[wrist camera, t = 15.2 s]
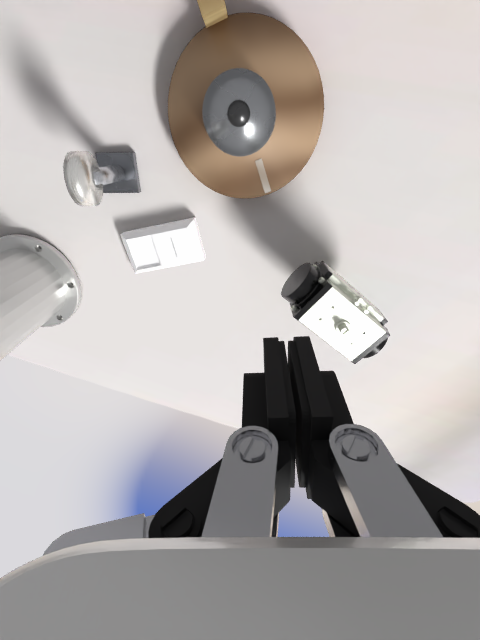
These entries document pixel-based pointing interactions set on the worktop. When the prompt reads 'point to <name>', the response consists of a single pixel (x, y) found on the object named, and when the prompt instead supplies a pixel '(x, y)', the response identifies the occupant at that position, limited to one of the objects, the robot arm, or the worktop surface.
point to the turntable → (282, 78)
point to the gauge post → (99, 175)
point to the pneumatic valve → (335, 311)
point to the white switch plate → (164, 245)
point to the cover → (239, 112)
